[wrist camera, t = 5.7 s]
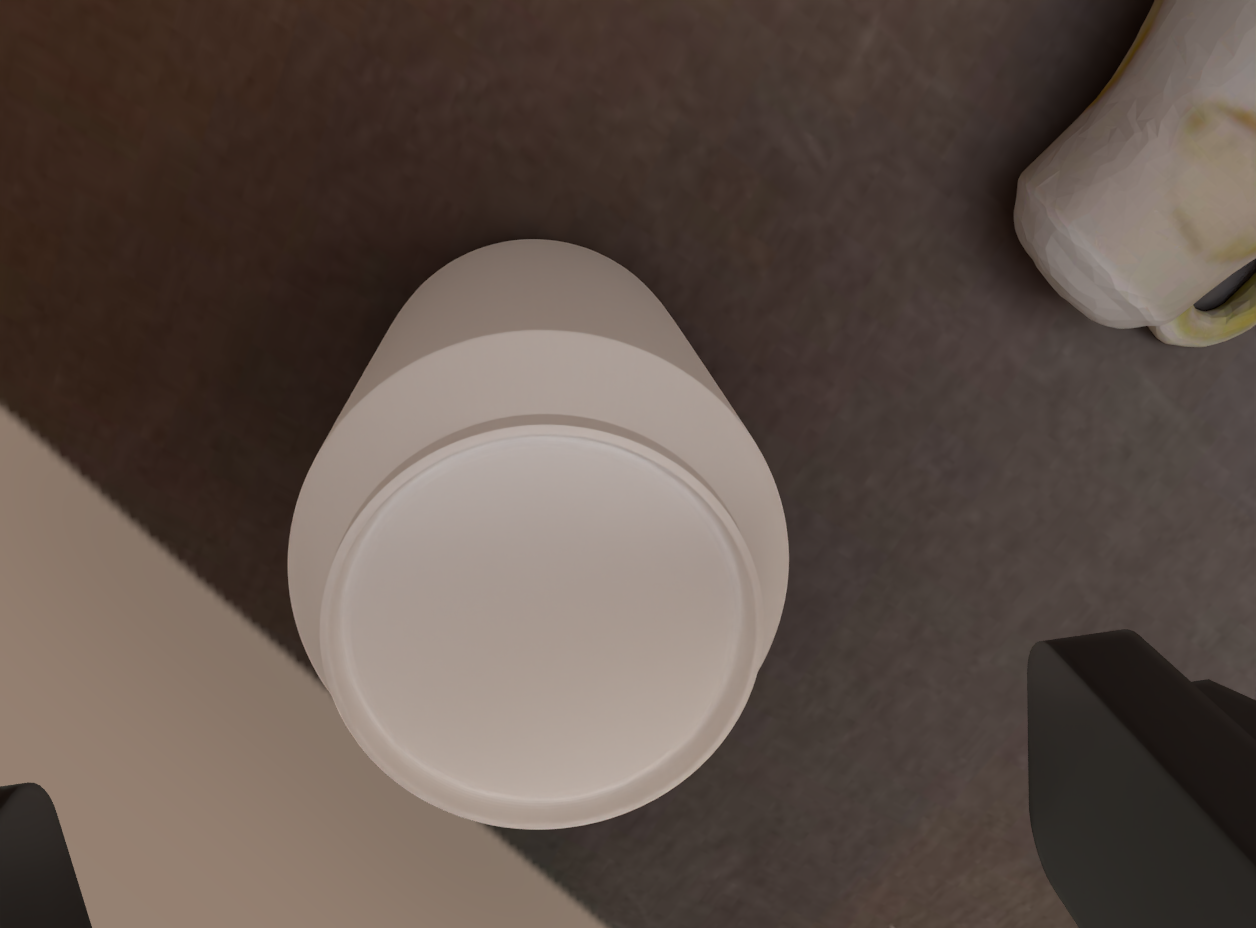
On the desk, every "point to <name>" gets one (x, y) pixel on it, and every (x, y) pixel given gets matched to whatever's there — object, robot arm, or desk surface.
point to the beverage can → (537, 545)
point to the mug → (1156, 181)
